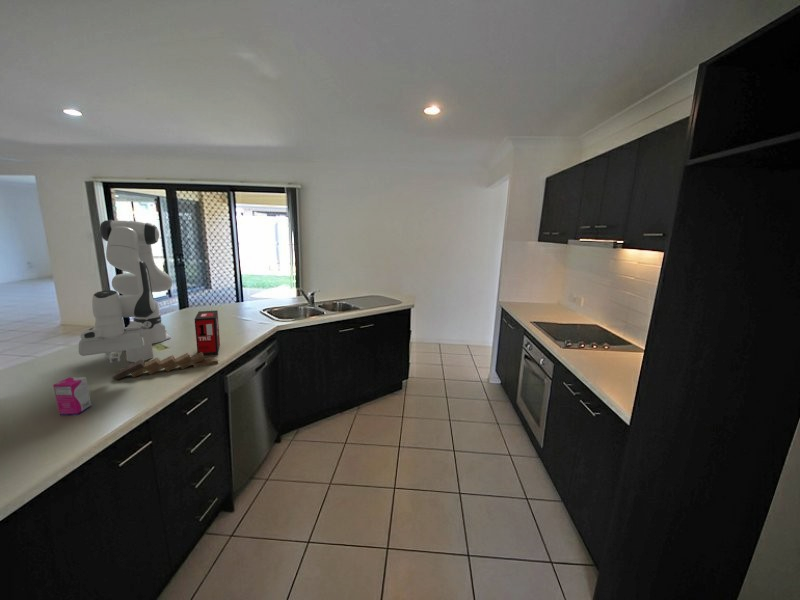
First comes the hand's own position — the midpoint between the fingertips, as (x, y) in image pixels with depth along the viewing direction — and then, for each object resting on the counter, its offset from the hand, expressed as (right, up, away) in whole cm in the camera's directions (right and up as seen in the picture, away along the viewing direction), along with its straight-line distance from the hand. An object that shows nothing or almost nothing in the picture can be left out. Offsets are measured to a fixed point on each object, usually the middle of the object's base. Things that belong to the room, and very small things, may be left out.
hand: (115, 361), depth 133 cm
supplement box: (+7, -13, -23) cm, 27 cm away
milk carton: (-7, -3, +21) cm, 22 cm away
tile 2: (+4, -6, +4) cm, 8 cm away
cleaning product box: (+18, -1, +36) cm, 41 cm away
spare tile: (-1, -7, +1) cm, 7 cm away
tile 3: (+9, -6, +7) cm, 13 cm away
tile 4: (+14, -5, +11) cm, 18 cm away
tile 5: (+18, -5, +14) cm, 23 cm away
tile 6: (+22, -5, +17) cm, 28 cm away
